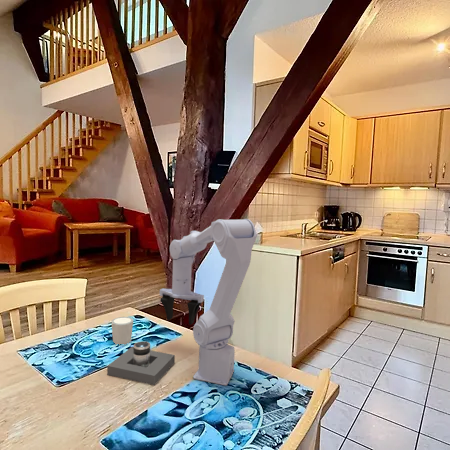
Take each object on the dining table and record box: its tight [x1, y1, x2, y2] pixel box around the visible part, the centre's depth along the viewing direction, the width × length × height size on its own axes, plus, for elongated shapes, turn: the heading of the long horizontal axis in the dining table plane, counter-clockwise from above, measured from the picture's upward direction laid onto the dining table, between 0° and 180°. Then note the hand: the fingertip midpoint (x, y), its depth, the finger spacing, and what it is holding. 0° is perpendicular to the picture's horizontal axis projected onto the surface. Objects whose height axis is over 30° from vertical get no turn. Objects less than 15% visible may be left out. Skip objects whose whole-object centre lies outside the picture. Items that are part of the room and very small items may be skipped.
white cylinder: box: [111, 316, 134, 346], centre depth 110 cm, size 7×7×7 cm
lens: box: [132, 340, 151, 368], centre depth 93 cm, size 4×4×7 cm
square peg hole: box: [106, 346, 176, 386], centre depth 93 cm, size 14×12×2 cm
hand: (180, 321), depth 104 cm, fingers open, 7 cm apart
